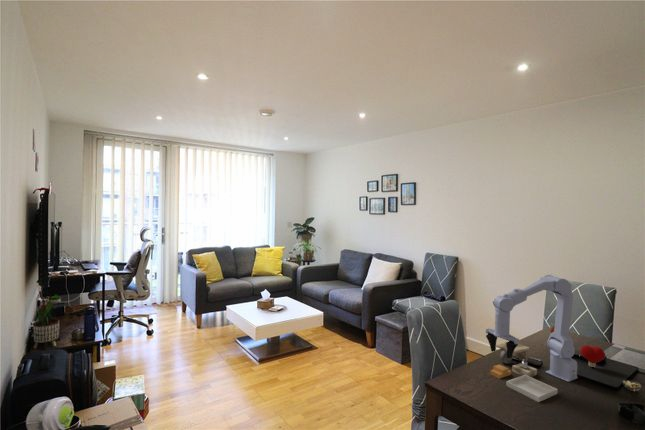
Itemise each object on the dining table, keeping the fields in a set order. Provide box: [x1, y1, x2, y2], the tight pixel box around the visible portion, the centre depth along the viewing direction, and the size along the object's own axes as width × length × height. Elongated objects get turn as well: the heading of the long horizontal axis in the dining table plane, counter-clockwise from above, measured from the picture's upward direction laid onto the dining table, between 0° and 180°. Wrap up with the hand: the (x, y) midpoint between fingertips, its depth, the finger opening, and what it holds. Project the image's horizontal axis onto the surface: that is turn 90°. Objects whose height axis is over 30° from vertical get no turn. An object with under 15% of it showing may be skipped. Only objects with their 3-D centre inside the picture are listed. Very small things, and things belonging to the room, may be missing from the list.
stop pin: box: [521, 359, 528, 370], centre depth 153 cm, size 2×2×6 cm
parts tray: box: [505, 375, 559, 403], centre depth 138 cm, size 13×13×2 cm
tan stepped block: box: [489, 364, 512, 380], centre depth 151 cm, size 8×4×4 cm, turn 118°
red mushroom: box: [580, 344, 606, 368], centre depth 160 cm, size 9×7×10 cm
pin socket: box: [511, 362, 538, 378], centre depth 153 cm, size 7×7×2 cm
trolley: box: [496, 342, 530, 365], centre depth 164 cm, size 9×14×7 cm, turn 118°
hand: (501, 354), depth 151 cm, fingers open, 7 cm apart
